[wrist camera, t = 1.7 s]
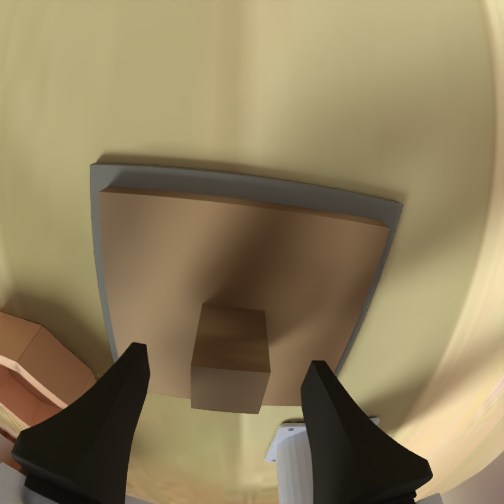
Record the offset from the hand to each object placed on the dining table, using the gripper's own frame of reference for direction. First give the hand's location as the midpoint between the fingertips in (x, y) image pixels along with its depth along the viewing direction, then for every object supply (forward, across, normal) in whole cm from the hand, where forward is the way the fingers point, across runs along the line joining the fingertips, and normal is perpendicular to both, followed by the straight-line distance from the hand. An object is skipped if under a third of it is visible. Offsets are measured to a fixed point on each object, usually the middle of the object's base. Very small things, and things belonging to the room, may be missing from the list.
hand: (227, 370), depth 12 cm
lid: (+4, 0, 0) cm, 4 cm away
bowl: (+4, +16, +10) cm, 19 cm away
